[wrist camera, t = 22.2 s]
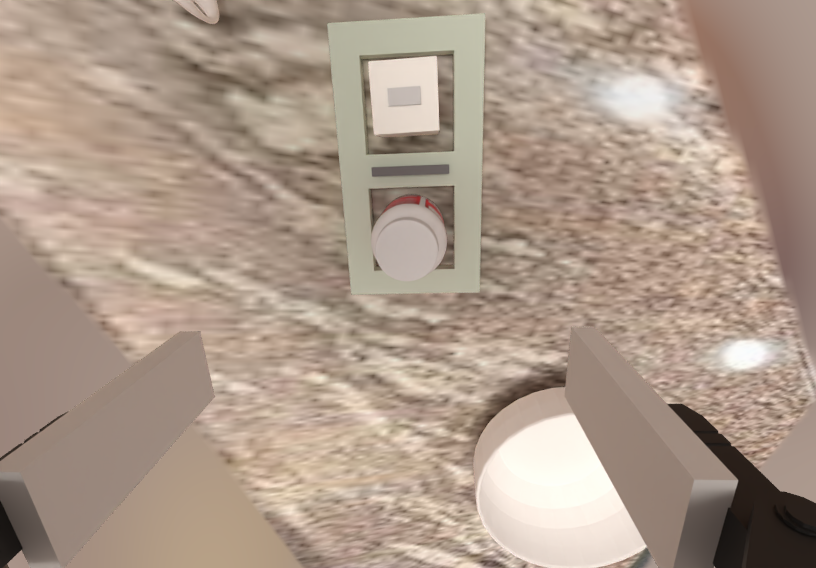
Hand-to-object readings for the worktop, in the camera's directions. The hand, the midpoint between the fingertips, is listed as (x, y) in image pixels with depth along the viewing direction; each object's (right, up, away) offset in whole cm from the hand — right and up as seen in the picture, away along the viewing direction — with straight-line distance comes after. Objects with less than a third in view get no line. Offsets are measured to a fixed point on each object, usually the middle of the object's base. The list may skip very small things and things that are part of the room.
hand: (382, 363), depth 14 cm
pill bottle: (+1, +9, +25) cm, 27 cm away
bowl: (+18, -15, +33) cm, 40 cm away
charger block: (+1, +19, +22) cm, 29 cm away
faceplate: (+1, +14, +24) cm, 27 cm away
